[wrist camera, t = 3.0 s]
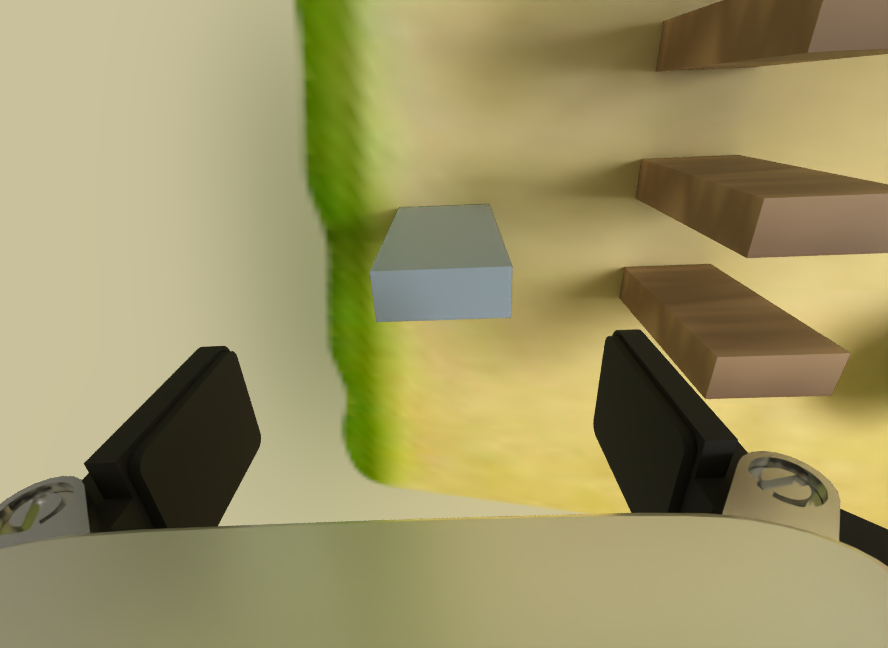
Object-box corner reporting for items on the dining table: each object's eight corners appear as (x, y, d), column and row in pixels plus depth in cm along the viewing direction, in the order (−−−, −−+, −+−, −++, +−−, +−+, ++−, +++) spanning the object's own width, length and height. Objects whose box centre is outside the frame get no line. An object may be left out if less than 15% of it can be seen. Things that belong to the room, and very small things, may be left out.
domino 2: (663, 21, 20) (834, -39, 11) (774, 15, 20) (1036, -51, 11) (655, 71, 21) (807, 52, 12) (761, 66, 21) (994, 43, 12)
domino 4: (624, 267, 25) (717, 357, 17) (710, 264, 25) (850, 353, 16) (619, 298, 26) (705, 399, 18) (702, 295, 26) (831, 395, 17)
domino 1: (399, 207, 24) (369, 271, 15) (489, 203, 24) (512, 266, 15) (402, 242, 25) (376, 322, 16) (489, 239, 25) (510, 317, 16)
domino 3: (641, 159, 23) (764, 198, 14) (738, 155, 23) (924, 192, 14) (635, 198, 24) (746, 258, 15) (728, 194, 23) (897, 252, 15)
